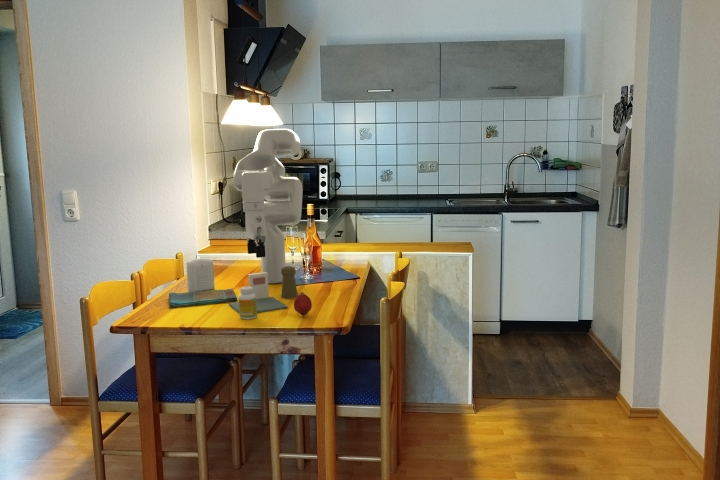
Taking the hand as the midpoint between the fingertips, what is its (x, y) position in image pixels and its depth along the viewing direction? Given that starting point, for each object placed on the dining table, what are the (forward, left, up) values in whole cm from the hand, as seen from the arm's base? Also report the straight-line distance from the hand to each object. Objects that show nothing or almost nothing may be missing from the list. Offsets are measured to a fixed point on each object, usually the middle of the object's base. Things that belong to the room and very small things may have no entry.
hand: (256, 255), depth 239 cm
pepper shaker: (-10, +4, -16) cm, 19 cm away
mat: (+4, +11, -16) cm, 19 cm away
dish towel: (+18, -10, -17) cm, 26 cm away
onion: (-5, +30, -16) cm, 34 cm away
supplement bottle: (+10, +22, -16) cm, 29 cm away
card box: (0, 0, -16) cm, 16 cm away
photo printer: (+15, -24, -16) cm, 33 cm away
